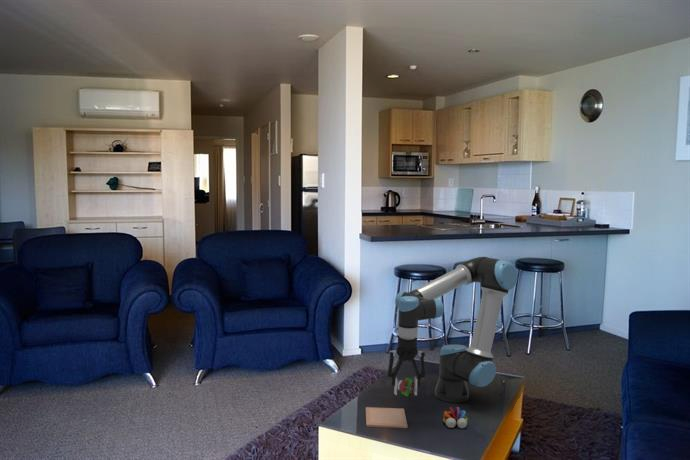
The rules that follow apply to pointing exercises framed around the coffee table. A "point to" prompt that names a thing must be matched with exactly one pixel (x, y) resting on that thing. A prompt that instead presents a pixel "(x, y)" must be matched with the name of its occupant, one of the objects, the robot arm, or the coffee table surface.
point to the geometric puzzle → (406, 386)
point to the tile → (385, 417)
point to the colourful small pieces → (455, 418)
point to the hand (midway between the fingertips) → (405, 393)
